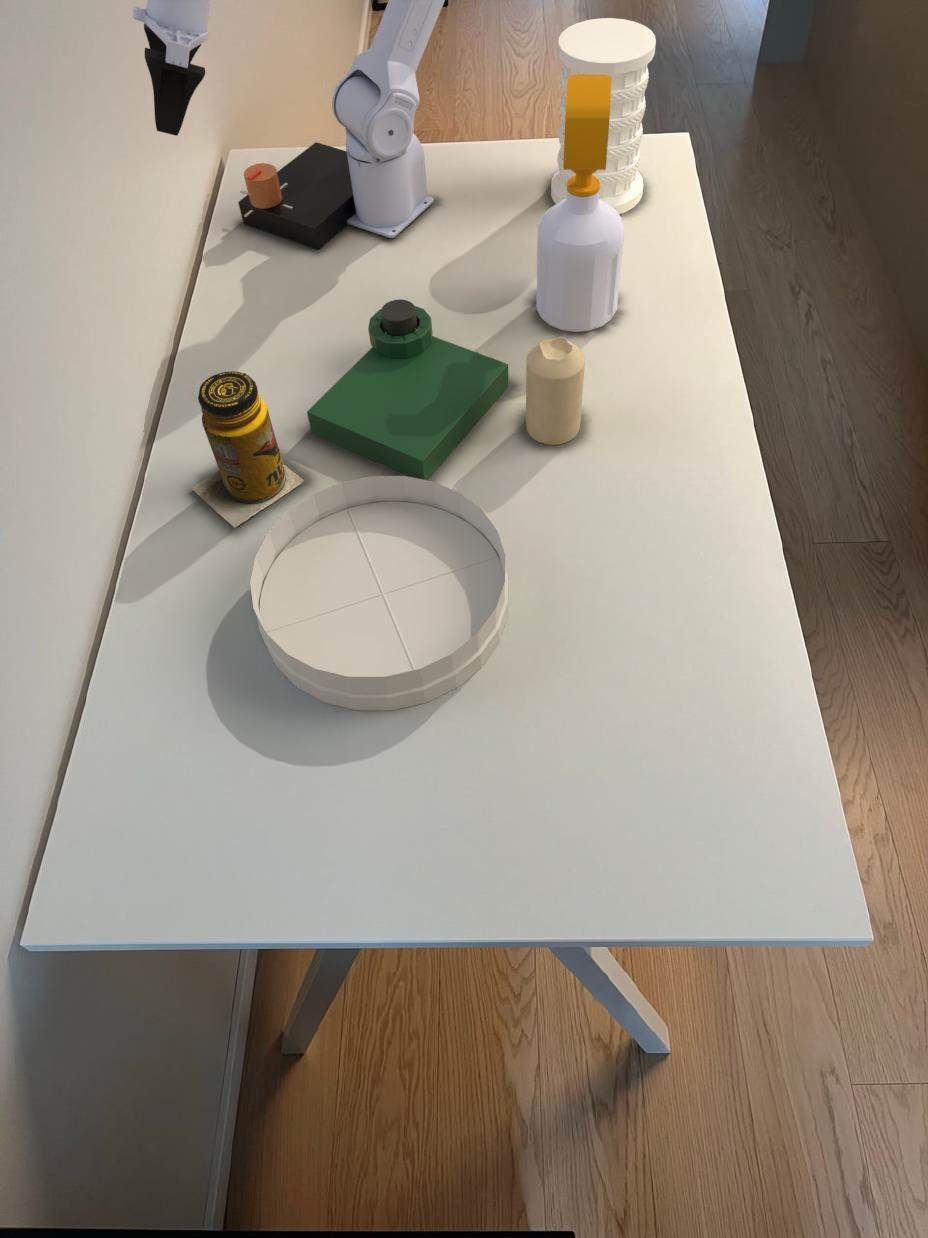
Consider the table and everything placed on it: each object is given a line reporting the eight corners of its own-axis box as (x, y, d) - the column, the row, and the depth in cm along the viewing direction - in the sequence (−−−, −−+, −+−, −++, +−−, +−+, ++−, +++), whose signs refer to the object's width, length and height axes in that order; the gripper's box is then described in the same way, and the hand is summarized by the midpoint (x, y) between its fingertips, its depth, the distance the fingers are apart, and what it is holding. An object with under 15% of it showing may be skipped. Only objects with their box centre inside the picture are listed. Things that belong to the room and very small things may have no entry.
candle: (516, 435, 96) (516, 355, 88) (539, 401, 99) (541, 321, 91) (566, 452, 94) (571, 372, 86) (588, 417, 97) (595, 336, 89)
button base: (396, 335, 106) (392, 297, 102) (514, 379, 101) (514, 341, 97) (302, 429, 98) (292, 392, 94) (425, 483, 93) (420, 445, 89)
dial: (264, 187, 120) (257, 157, 116) (289, 195, 118) (282, 165, 115) (243, 203, 118) (236, 173, 114) (268, 212, 116) (261, 181, 113)
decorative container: (634, 163, 124) (649, 12, 109) (649, 213, 117) (668, 59, 103) (545, 170, 124) (549, 20, 109) (556, 221, 117) (561, 68, 103)
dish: (236, 552, 89) (222, 516, 85) (457, 483, 93) (454, 446, 88) (296, 748, 76) (284, 718, 72) (549, 660, 80) (550, 626, 76)
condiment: (304, 481, 94) (279, 387, 84) (235, 529, 91) (200, 436, 81) (260, 445, 97) (231, 350, 87) (192, 490, 94) (153, 396, 84)
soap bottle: (616, 284, 110) (638, 58, 90) (616, 335, 104) (638, 107, 84) (538, 282, 110) (542, 59, 90) (534, 333, 105) (537, 107, 85)
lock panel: (313, 161, 128) (309, 138, 126) (392, 186, 124) (389, 162, 121) (226, 230, 120) (219, 206, 117) (307, 259, 115) (303, 235, 113)
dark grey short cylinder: (395, 311, 101) (393, 295, 100) (423, 321, 100) (422, 305, 98) (376, 330, 100) (373, 314, 98) (404, 341, 98) (402, 324, 97)
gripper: (137, -63, 93) (126, 84, 102) (138, -25, 84) (125, 134, 92) (211, -39, 96) (193, 102, 105) (219, 0, 86) (199, 152, 95)
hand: (166, 118), depth 99 cm, fingers open, 7 cm apart
